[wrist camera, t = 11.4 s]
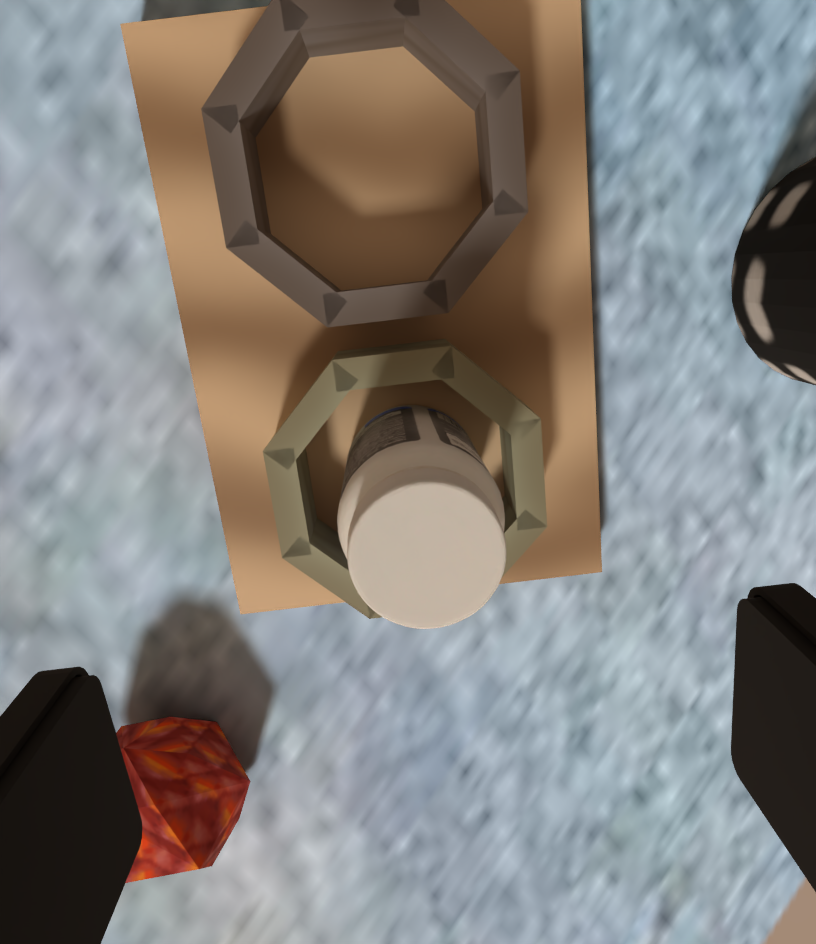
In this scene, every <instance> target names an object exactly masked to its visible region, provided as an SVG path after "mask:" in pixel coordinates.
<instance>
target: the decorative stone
mask: <svg viewBox="0 0 816 944" xmlns="http://www.w3.org/2000/svg"><path fill="white" fill-rule="evenodd" d="M116 735H117V739H118V742H119V745H120V749H121V752H122V755H123V759H124V762H125V765H126V769H127V772H128V775H129V779H130V782H131V785H132V789H133V792H134V795H135V799H136V802H137V805H138V809H139V812H140V815H141V819H142V829H143V830H142V840H141V845H140V848H139V851H138V853H137V856H136V858H135V860H134V863H133V865H132V868H131V870H130V873H129V875H128V878H127V880H126V882H125V883H128V882H133V881H138V880H143V879H149V878H154V877H159V876H165V875H170V874H175V873H180V872H186V871H191V870H196V869H201V868H205V867H210V866H212V865H213V863H214V862H215V860H216V858H217V856H218V855H219V853H220V851H221V849H222V848H223V846H224V844H225V842H226V841H227V839H228V837H229V835H230V834H231V832H232V830H233V828H234V827H235V825H236V823H237V821H238V820H239V818H240V814H241V811H242V807H243V804H244V801H245V797H246V794H247V790H248V787H249V784H250V780H249V778H248V777H247V775H246V773H245V771H244V769H243V768H242V766H241V764H240V762H239V760H238V759H237V757H236V755H235V753H234V752H233V750H232V748H231V746H230V744H229V743H228V741H227V739H226V737H225V735H224V734H223V732H222V730H221V728H220V727H219V725H218V723H217V722H213V721H204V720H195V719H187V718H178V717H166V718H161V719H156V720H151V721H146V722H141V723H136V724H130V725H125V726H121V728H120V729H119V730H118V732H117V733H116Z"/></svg>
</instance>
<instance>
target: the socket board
mask: <svg viewBox="0 0 816 944" xmlns="http://www.w3.org/2000/svg"><path fill="white" fill-rule="evenodd" d="M121 29H122V34H123V39H124V44H125V49H126V54H127V59H128V64H129V68H130V73H131V78H132V83H133V88H134V93H135V98H136V103H137V108H138V113H139V118H140V122H141V127H142V132H143V137H144V142H145V147H146V152H147V157H148V162H149V167H150V172H151V176H152V181H153V186H154V191H155V196H156V201H157V206H158V211H159V216H160V221H161V226H162V230H163V235H164V240H165V245H166V250H167V255H168V260H169V265H170V270H171V275H172V280H173V284H174V289H175V294H176V299H177V304H178V309H179V314H180V319H181V324H182V329H183V334H184V338H185V343H186V348H187V353H188V358H189V363H190V368H191V373H192V378H193V383H194V388H195V392H196V397H197V402H198V407H199V412H200V417H201V422H202V427H203V432H204V437H205V441H206V446H207V451H208V456H209V461H210V466H211V471H212V476H213V481H214V486H215V491H216V495H217V500H218V505H219V510H220V515H221V520H222V525H223V530H224V535H225V540H226V545H227V549H228V554H229V559H230V564H231V569H232V574H233V579H234V584H235V589H236V594H237V599H238V603H239V608H240V613H241V614H247V613H255V612H264V611H272V610H281V609H290V608H298V607H307V606H315V605H324V604H332V603H341V602H346V603H348V604H349V605H351V606H352V607H353V608H355V609H356V610H358V611H359V612H361V613H362V614H364V615H365V616H366V617H368V618H369V619H371V618H380V617H382V616H380V615H379V614H377V613H376V612H375V611H373V610H372V609H371V608H370V607H369V606H368V605H367V604H366V603H365V602H364V600H363V599H362V598H361V596H360V595H359V594H358V592H357V590H356V588H355V586H354V584H353V582H352V579H351V576H350V573H349V569H348V561H347V558H346V556H345V554H344V552H343V549H342V547H341V543H340V539H339V534H338V525H337V515H338V508H339V503H340V497H341V491H342V485H343V479H344V473H345V468H346V461H347V457H348V453H349V450H350V447H351V444H352V442H353V440H354V438H355V436H356V435H357V433H358V432H359V431H360V429H361V428H362V427H363V426H364V425H365V424H366V423H367V422H368V421H369V420H371V419H372V418H373V417H375V416H376V415H378V414H380V413H381V412H383V411H385V410H388V409H390V408H394V407H397V406H403V405H419V406H425V407H429V408H433V409H436V410H439V411H441V412H443V413H445V414H447V415H448V416H450V417H451V418H453V419H454V420H455V421H456V422H457V423H458V424H459V425H460V426H461V427H462V428H463V429H464V431H465V432H466V433H467V435H468V436H469V438H470V439H471V441H472V443H473V445H474V447H475V448H476V450H477V452H478V454H479V456H480V457H481V459H482V461H483V462H484V464H485V466H486V468H487V469H488V471H489V472H490V474H491V476H492V477H493V479H494V481H495V483H496V484H497V486H498V488H499V491H500V494H501V497H502V501H503V504H504V513H505V526H504V534H505V539H506V553H507V555H506V563H505V569H504V573H503V575H502V578H501V580H500V583H499V584H503V583H512V582H520V581H529V580H537V579H546V578H555V577H563V576H572V575H580V574H589V573H597V572H602V561H601V534H600V507H599V480H598V453H597V426H596V399H595V372H594V345H593V318H592V291H591V264H590V237H589V210H588V183H587V156H586V129H585V102H584V75H583V48H582V21H581V0H271V2H270V3H269V5H268V6H265V7H256V8H248V9H240V10H232V11H223V12H215V13H207V14H199V15H190V16H182V17H174V18H165V19H157V20H149V21H141V22H132V23H124V24H121Z"/></svg>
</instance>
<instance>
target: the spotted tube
mask: <svg viewBox="0 0 816 944" xmlns="http://www.w3.org/2000/svg"><path fill="white" fill-rule="evenodd" d="M732 303H733V307H734V311H735V315H736V320H737V323H738V325H739V328H740V330H741V332H742V334H743V336H744V338H745V340H746V342H747V343H748V345H749V346H750V347H751V348H752V350H753V351H754V352H755V354H756V355H757V356H758V357H759V358H760V359H761V360H762V361H763V362H765V363H766V364H767V365H768V366H770V367H771V368H772V369H773V370H775V371H777V372H779V373H781V374H783V375H785V376H787V377H789V378H791V379H794V380H798V381H802V382H806V383H809V384H813V385H816V157H815V158H813V159H811V160H809V161H808V162H806V163H804V164H803V165H801V166H800V167H798V168H796V169H795V170H793V171H792V172H790V173H789V174H788V175H787V176H786V177H785V178H783V179H782V180H781V181H780V182H779V183H778V184H777V185H776V186H775V187H773V188H772V189H771V190H770V192H769V193H768V194H767V196H766V197H765V198H764V199H763V201H762V202H761V203H760V204H759V206H758V207H757V208H756V209H755V211H754V213H753V215H752V217H751V219H750V220H749V222H748V224H747V226H746V228H745V229H744V231H743V234H742V237H741V240H740V243H739V245H738V248H737V251H736V254H735V260H734V266H733V272H732Z"/></svg>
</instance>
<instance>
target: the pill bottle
mask: <svg viewBox="0 0 816 944" xmlns="http://www.w3.org/2000/svg"><path fill="white" fill-rule="evenodd" d="M337 525H338V534H339V539H340V543H341V547H342V549H343V552H344V554H345V556H346V558H347V561H348V569H349V573H350V576H351V579H352V582H353V584H354V586H355V588H356V590H357V592H358V594H359V595H360V596H361V598H362V599H363V600H364V602H365V603H366V604H367V605H368V606H369V607H370V608H371V609H372V610H373V611H375V612H376V613H377V614H379V615H380V616H382V617H384V618H385V619H387V620H389V621H392V622H394V623H397V624H399V625H403V626H406V627H411V628H418V629H429V628H439V627H444V626H448V625H451V624H454V623H456V622H459V621H461V620H463V619H465V618H467V617H469V616H471V615H472V614H474V613H475V612H476V611H478V610H479V609H480V608H481V607H483V605H484V604H485V603H486V602H487V601H488V600H489V599H490V597H491V596H492V595H493V593H494V592H495V590H496V589H497V587H498V585H499V583H500V580H501V578H502V575H503V573H504V569H505V563H506V555H507V553H506V539H505V534H504V526H505V513H504V504H503V501H502V497H501V494H500V491H499V488H498V486H497V484H496V483H495V481H494V479H493V477H492V476H491V474H490V472H489V471H488V469H487V468H486V466H485V464H484V462H483V461H482V459H481V457H480V456H479V454H478V452H477V450H476V448H475V447H474V445H473V443H472V441H471V439H470V438H469V436H468V435H467V433H466V432H465V431H464V429H463V428H462V427H461V426H460V425H459V424H458V423H457V422H456V421H455V420H454V419H453V418H451V417H450V416H448V415H447V414H445V413H443V412H441V411H439V410H436V409H433V408H429V407H425V406H419V405H403V406H397V407H394V408H390V409H388V410H385V411H383V412H381V413H380V414H378V415H376V416H375V417H373V418H372V419H371V420H369V421H368V422H367V423H366V424H365V425H364V426H363V427H362V428H361V429H360V431H359V432H358V433H357V435H356V436H355V438H354V440H353V442H352V444H351V447H350V450H349V453H348V457H347V461H346V468H345V473H344V479H343V485H342V491H341V497H340V503H339V508H338V515H337Z"/></svg>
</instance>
